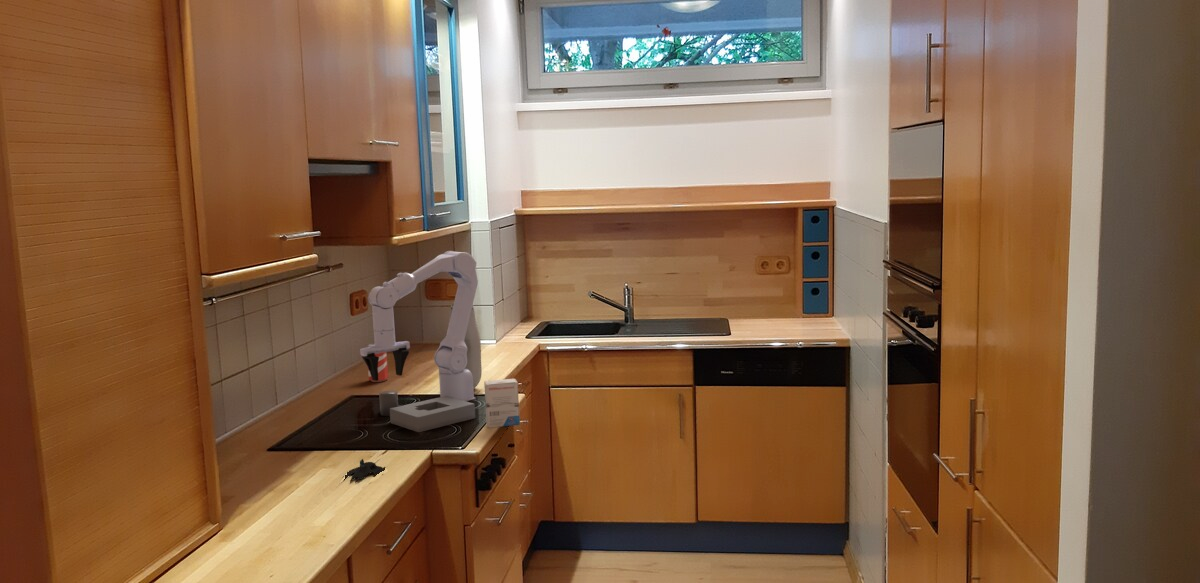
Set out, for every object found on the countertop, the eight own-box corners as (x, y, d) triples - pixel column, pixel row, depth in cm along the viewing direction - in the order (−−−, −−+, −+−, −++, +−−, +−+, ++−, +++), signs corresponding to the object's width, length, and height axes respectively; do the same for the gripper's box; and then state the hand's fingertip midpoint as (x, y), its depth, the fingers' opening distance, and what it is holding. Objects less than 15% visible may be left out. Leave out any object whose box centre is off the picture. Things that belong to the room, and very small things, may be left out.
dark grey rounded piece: (402, 413, 258) (400, 392, 257) (386, 417, 254) (384, 395, 254) (390, 409, 262) (388, 389, 262) (374, 413, 259) (373, 392, 258)
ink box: (518, 420, 246) (516, 377, 244) (520, 425, 241) (518, 381, 240) (485, 423, 244) (483, 380, 243) (487, 428, 239) (485, 384, 238)
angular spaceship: (397, 469, 210) (396, 456, 210) (373, 492, 196) (372, 479, 195) (350, 467, 212) (350, 455, 211) (323, 491, 197) (322, 478, 197)
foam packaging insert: (446, 409, 260) (445, 395, 260) (475, 418, 250) (474, 403, 249) (390, 422, 248) (389, 408, 247) (418, 432, 238) (417, 417, 237)
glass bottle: (443, 389, 285) (438, 300, 281) (472, 384, 291) (467, 297, 287) (459, 395, 277) (454, 303, 273) (488, 389, 283) (484, 299, 280)
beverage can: (365, 380, 302) (363, 344, 300) (383, 377, 305) (381, 342, 304) (373, 383, 297) (370, 347, 295) (391, 380, 301) (389, 344, 299)
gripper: (399, 324, 263) (402, 371, 264) (353, 331, 253) (356, 380, 254) (412, 327, 257) (415, 374, 259) (366, 334, 248) (369, 383, 249)
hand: (387, 377), depth 256 cm, fingers open, 7 cm apart
